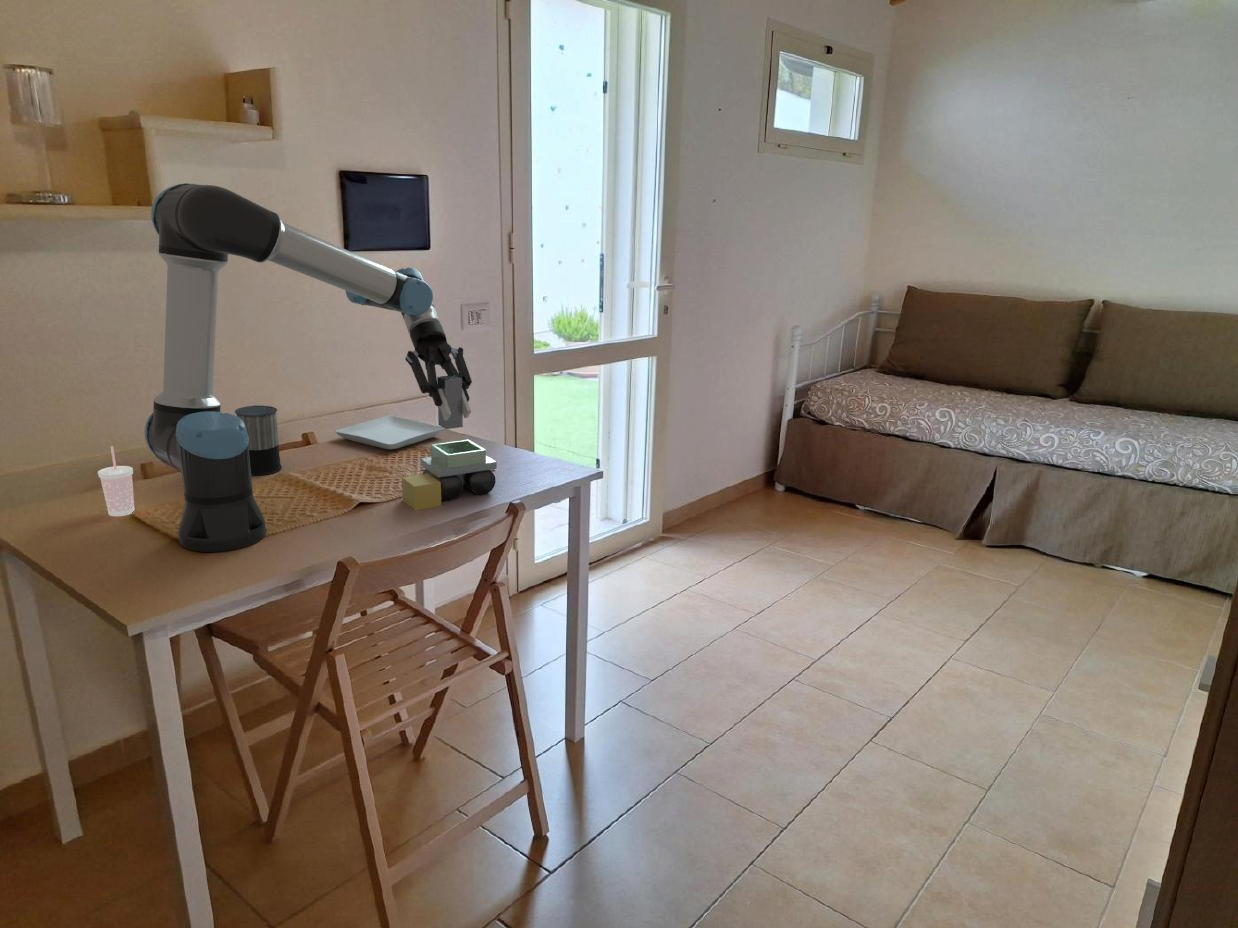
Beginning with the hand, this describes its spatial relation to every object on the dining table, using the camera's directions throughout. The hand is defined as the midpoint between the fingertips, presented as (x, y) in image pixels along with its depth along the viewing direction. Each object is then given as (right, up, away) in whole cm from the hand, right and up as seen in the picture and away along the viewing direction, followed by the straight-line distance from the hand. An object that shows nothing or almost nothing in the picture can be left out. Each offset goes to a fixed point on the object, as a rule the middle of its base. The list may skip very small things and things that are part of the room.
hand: (457, 415), depth 180 cm
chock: (-8, -19, 0) cm, 21 cm away
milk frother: (-54, -13, +15) cm, 57 cm away
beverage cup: (-66, -21, -12) cm, 70 cm away
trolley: (-1, -17, +8) cm, 19 cm away
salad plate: (-27, -4, +46) cm, 54 cm away
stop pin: (-2, -2, +4) cm, 5 cm away
